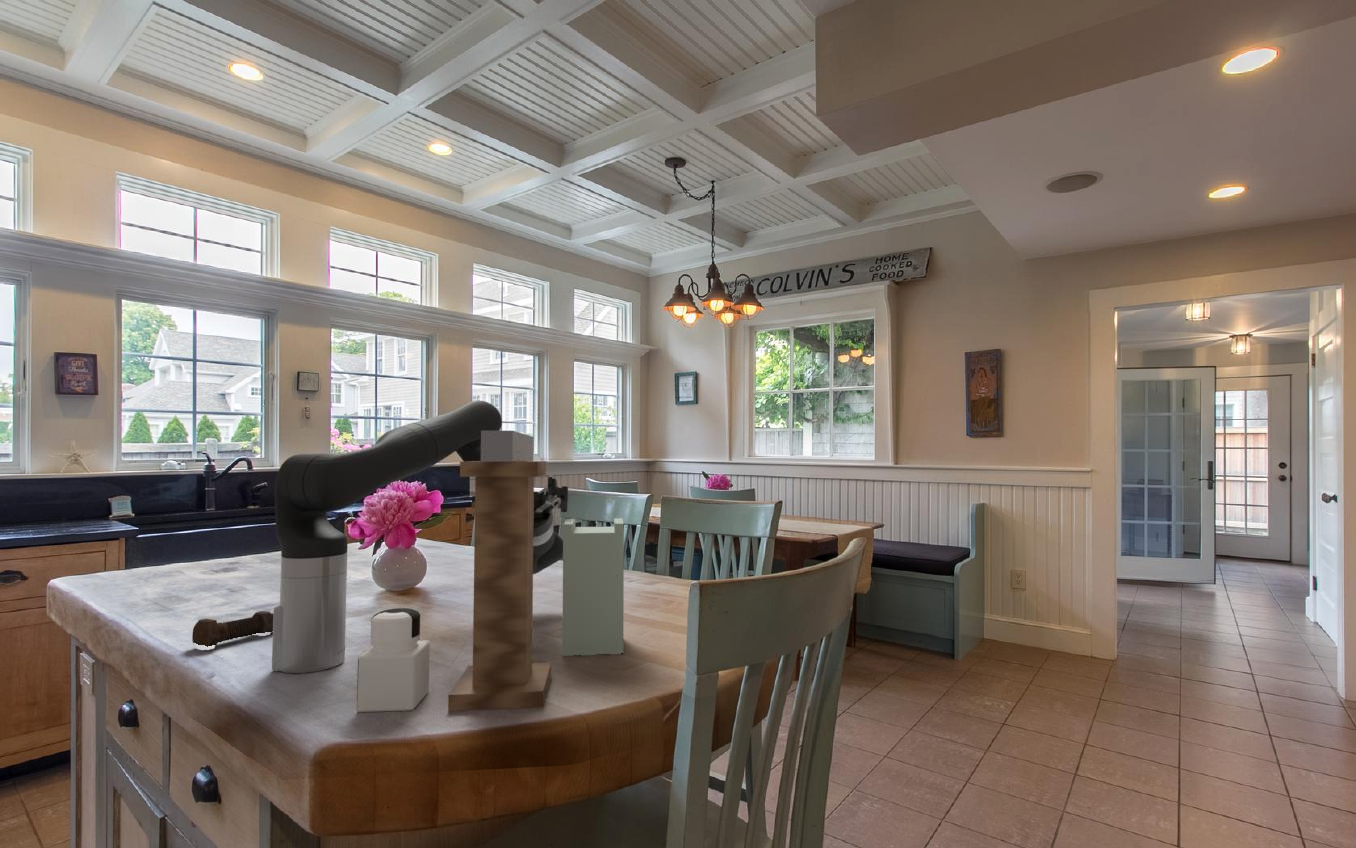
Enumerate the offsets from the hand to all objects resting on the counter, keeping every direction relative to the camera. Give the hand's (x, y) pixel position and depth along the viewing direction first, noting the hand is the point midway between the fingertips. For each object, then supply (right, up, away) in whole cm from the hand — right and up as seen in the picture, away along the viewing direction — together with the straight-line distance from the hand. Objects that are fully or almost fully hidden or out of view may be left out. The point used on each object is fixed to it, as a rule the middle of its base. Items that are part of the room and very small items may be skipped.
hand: (525, 480), depth 114 cm
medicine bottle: (-11, -27, -27) cm, 40 cm away
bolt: (-51, -29, +4) cm, 59 cm away
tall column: (+3, -27, -24) cm, 36 cm away
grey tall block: (+12, -29, -2) cm, 31 cm away
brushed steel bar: (+2, +4, -18) cm, 19 cm away
